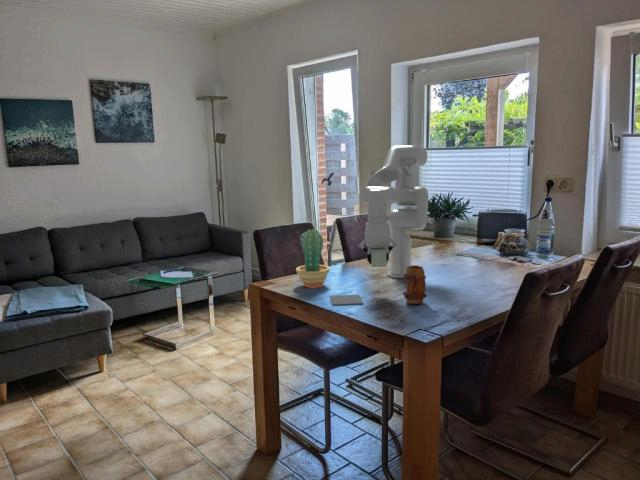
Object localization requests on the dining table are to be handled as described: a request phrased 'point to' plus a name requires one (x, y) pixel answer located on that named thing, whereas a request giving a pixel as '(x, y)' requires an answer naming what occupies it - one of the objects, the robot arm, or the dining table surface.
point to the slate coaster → (346, 300)
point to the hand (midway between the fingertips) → (378, 262)
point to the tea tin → (378, 257)
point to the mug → (415, 285)
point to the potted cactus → (312, 260)
